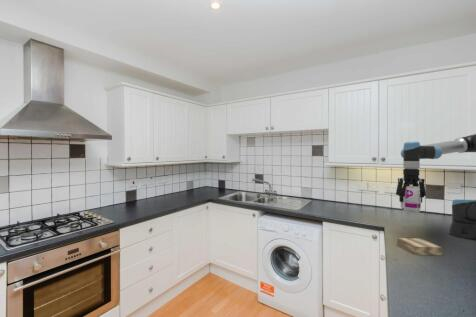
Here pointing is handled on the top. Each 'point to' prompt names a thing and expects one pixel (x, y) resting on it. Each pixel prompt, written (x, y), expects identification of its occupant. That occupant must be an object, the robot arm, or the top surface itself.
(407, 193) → the supplement can
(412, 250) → the oak base
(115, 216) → the top surface
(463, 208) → the robot arm
